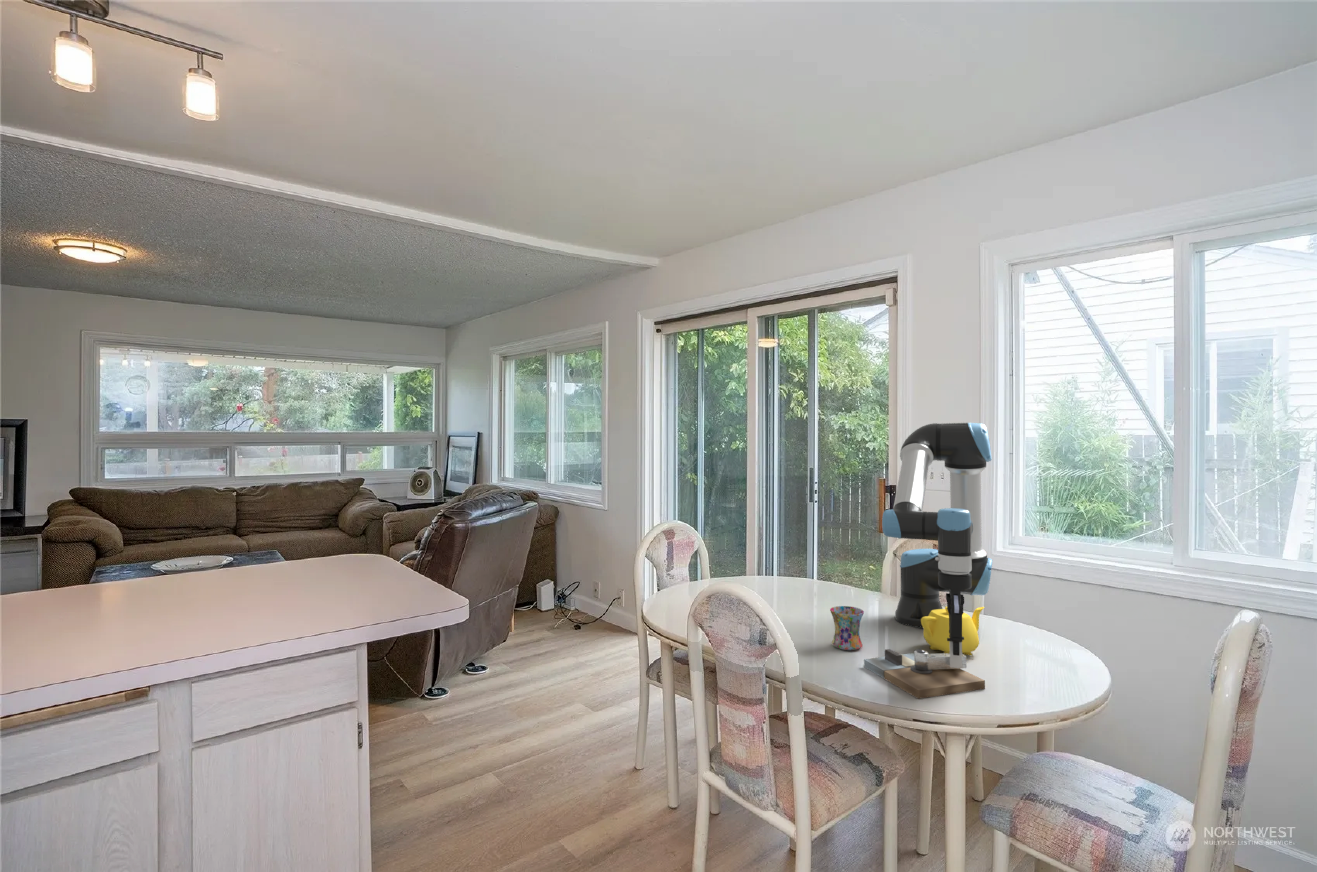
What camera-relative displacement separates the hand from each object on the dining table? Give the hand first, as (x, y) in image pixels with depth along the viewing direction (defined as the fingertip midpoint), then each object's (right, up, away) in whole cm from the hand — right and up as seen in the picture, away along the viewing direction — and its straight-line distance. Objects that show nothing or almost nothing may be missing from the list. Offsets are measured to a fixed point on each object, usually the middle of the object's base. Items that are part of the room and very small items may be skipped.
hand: (955, 666), depth 156 cm
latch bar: (-3, -1, +2) cm, 4 cm away
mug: (-19, -4, +27) cm, 33 cm away
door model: (-8, -4, +2) cm, 9 cm away
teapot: (+9, -4, +22) cm, 24 cm away
